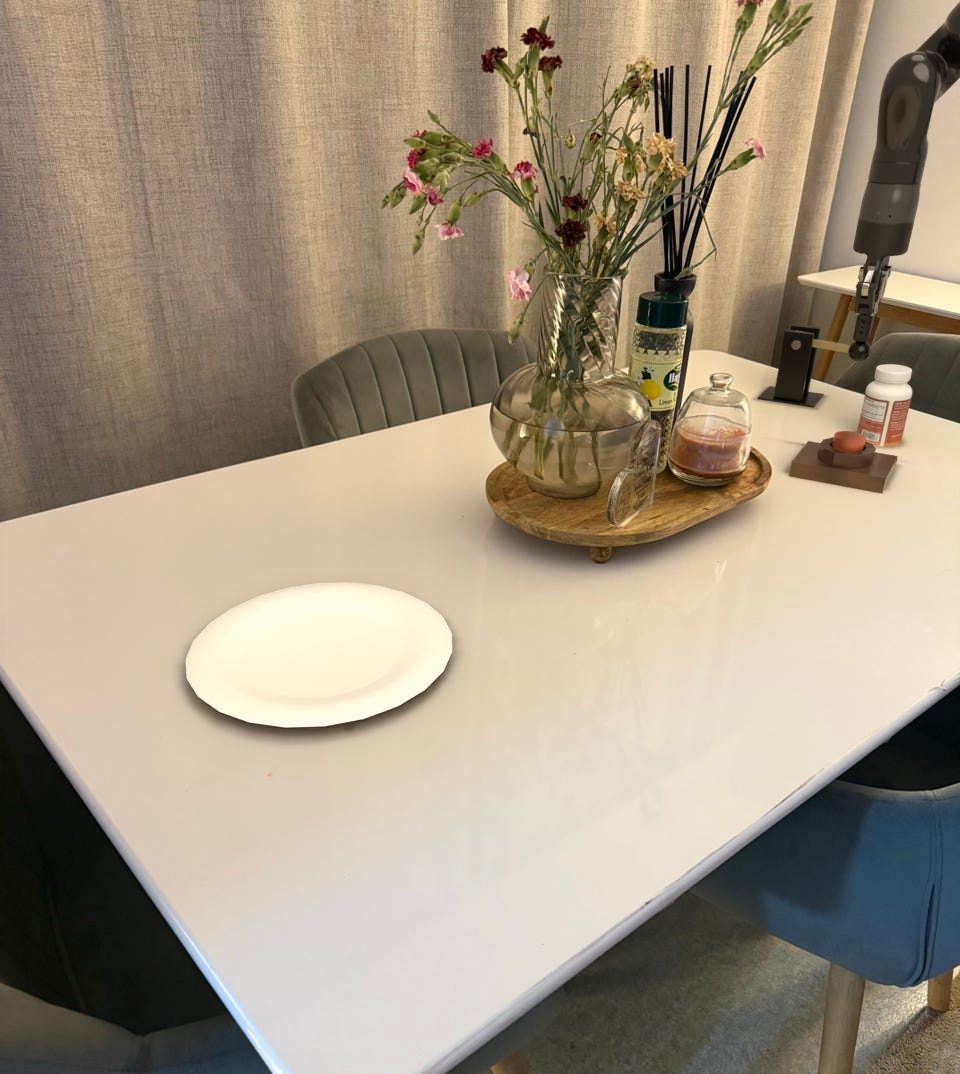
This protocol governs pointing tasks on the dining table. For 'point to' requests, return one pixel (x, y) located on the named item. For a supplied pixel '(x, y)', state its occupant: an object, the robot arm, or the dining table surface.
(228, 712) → the plate
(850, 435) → the button
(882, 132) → the robot arm
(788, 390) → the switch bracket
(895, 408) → the pill bottle
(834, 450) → the switch box
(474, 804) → the dining table surface
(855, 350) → the switch lever
